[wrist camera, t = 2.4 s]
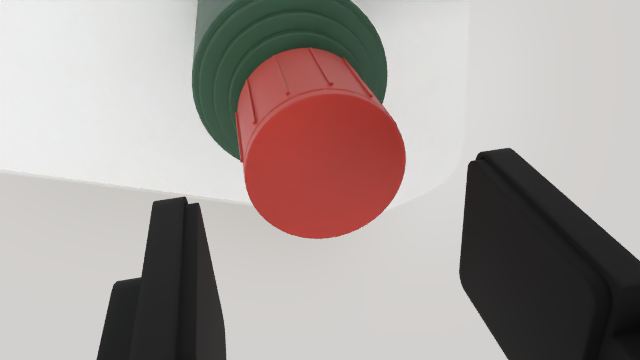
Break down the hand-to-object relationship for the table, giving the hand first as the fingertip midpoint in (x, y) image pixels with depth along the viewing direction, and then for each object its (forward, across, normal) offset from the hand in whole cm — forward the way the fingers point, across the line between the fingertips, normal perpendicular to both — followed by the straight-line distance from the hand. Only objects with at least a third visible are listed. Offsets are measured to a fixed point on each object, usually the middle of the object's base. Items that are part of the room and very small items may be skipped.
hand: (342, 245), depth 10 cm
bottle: (+23, 0, 0) cm, 23 cm away
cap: (+6, 0, 0) cm, 6 cm away
